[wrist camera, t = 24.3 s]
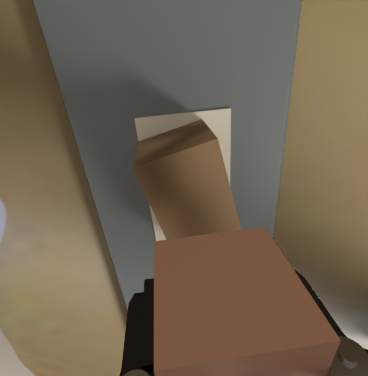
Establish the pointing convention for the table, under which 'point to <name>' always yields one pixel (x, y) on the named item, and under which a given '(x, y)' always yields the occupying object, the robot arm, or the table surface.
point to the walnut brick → (186, 182)
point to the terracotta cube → (235, 310)
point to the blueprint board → (172, 101)
